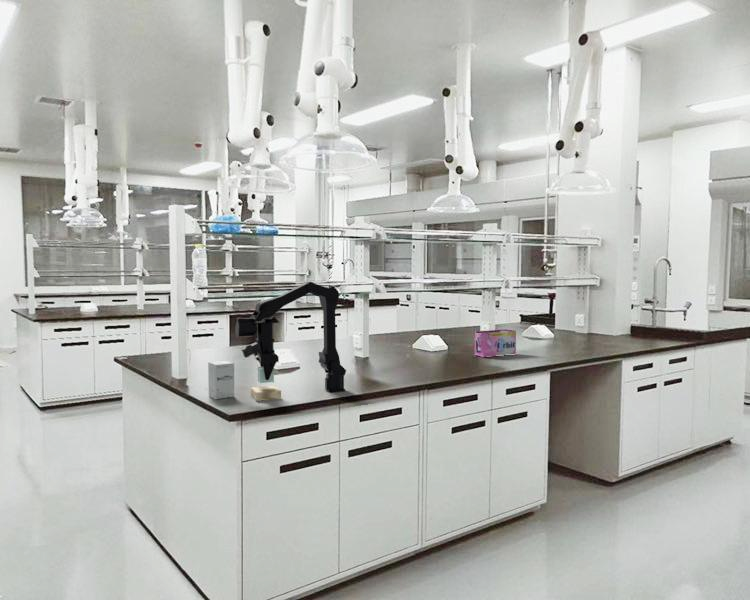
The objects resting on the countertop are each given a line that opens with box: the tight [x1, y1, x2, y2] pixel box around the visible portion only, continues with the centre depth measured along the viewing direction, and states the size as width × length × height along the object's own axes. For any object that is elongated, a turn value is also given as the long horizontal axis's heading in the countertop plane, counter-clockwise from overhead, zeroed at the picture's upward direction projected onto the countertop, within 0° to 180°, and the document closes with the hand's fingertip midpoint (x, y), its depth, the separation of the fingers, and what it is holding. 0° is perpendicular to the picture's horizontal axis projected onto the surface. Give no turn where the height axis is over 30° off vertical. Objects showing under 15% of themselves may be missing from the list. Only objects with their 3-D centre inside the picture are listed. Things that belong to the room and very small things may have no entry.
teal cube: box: [257, 366, 275, 384], centre depth 201 cm, size 5×5×5 cm
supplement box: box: [207, 360, 235, 400], centre depth 202 cm, size 7×7×13 cm
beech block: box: [250, 385, 282, 402], centre depth 201 cm, size 9×9×4 cm
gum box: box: [474, 329, 517, 357], centre depth 299 cm, size 24×8×14 cm, turn 118°
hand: (265, 378), depth 201 cm, fingers closed on teal cube, 5 cm apart
